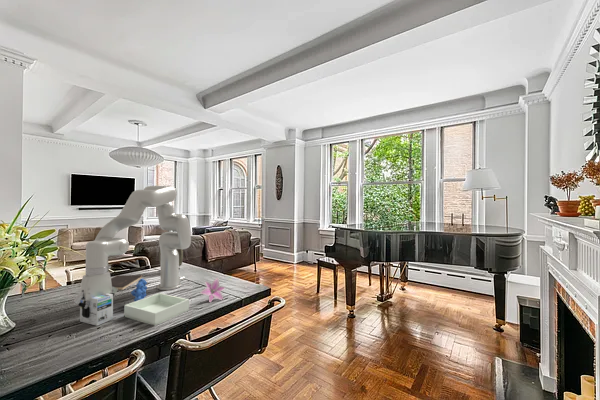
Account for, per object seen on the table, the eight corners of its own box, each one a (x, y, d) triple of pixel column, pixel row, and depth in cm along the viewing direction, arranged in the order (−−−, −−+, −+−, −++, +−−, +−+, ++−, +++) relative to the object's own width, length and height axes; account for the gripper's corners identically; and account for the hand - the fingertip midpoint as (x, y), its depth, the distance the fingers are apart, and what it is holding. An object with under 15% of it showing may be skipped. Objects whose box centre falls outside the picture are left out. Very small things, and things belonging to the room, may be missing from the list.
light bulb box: (113, 319, 114) (113, 293, 114) (96, 326, 108) (97, 299, 108) (95, 315, 118) (96, 290, 118) (78, 322, 111) (79, 295, 111)
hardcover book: (142, 278, 174) (142, 275, 174) (123, 290, 151) (123, 286, 151) (116, 279, 172) (116, 275, 172) (92, 291, 149) (92, 287, 149)
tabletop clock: (181, 269, 196) (181, 234, 196) (183, 272, 189) (183, 236, 189) (158, 271, 189) (159, 235, 189) (159, 274, 181) (160, 237, 181)
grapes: (134, 300, 135) (135, 276, 135) (149, 299, 137) (150, 275, 137) (126, 309, 124) (126, 283, 124) (142, 308, 126) (142, 282, 126)
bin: (159, 303, 133) (159, 292, 133) (188, 310, 125) (189, 299, 125) (124, 316, 117) (124, 305, 117) (155, 325, 109) (155, 313, 109)
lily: (195, 304, 134) (201, 290, 131) (201, 288, 145) (206, 274, 142) (219, 310, 137) (225, 296, 134) (223, 293, 148) (228, 280, 145)
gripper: (113, 265, 122) (112, 304, 122) (67, 274, 106) (66, 320, 106) (123, 267, 119) (123, 307, 119) (78, 277, 103) (77, 324, 103)
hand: (96, 313), depth 113 cm, fingers closed on light bulb box, 7 cm apart
